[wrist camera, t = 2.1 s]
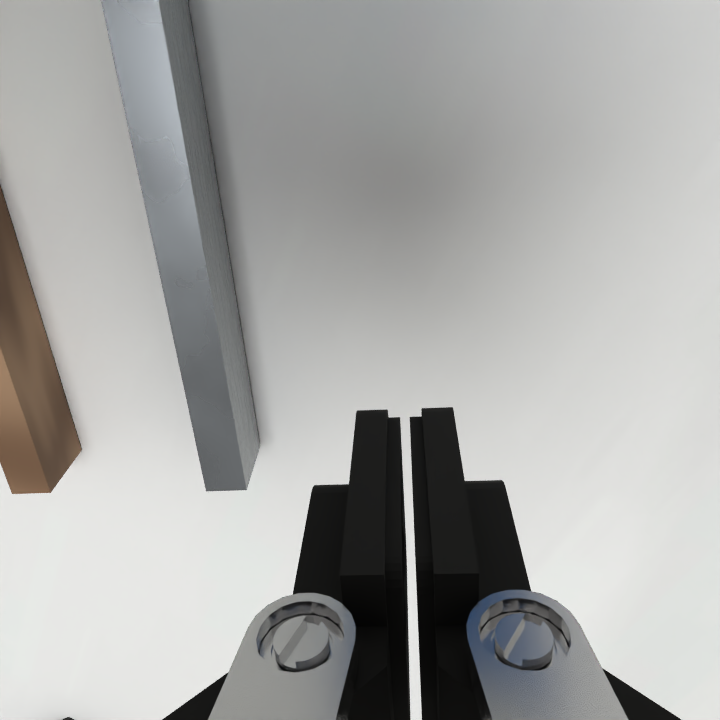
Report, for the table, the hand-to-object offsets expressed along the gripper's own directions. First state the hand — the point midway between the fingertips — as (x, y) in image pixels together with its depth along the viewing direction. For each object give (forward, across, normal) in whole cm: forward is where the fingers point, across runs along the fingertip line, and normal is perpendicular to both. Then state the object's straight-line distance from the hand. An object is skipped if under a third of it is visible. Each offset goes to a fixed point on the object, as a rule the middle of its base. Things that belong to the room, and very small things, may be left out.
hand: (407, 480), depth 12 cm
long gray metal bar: (+14, +7, 0) cm, 16 cm away
